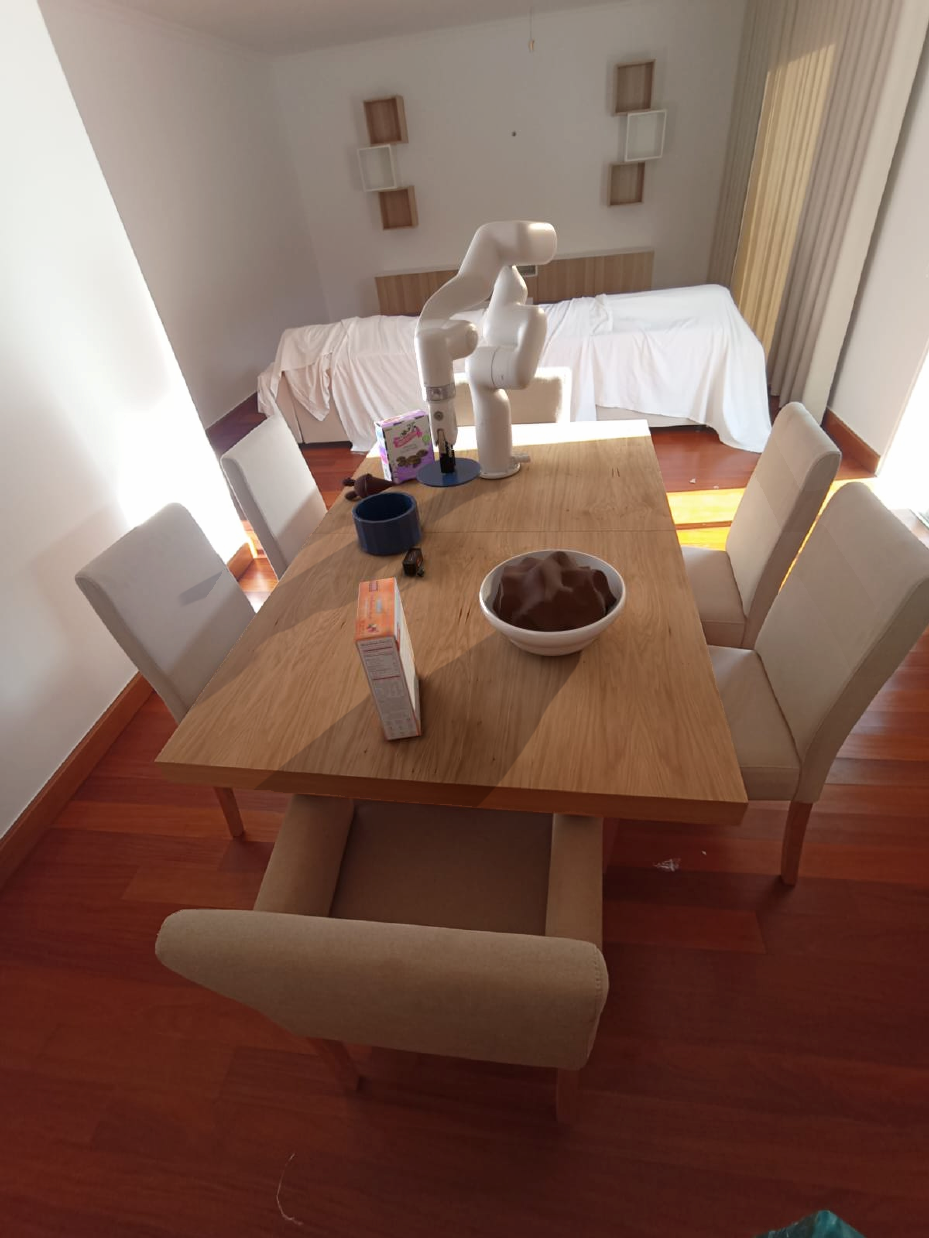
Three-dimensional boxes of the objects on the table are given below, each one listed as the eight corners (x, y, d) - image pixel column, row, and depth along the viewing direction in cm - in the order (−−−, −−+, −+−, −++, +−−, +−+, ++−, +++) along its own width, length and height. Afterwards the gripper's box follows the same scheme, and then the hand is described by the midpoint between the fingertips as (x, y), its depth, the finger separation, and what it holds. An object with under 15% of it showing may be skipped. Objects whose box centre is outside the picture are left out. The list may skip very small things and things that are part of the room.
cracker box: (384, 680, 103) (358, 580, 90) (419, 675, 103) (397, 574, 90) (383, 742, 92) (352, 639, 79) (421, 737, 92) (397, 633, 79)
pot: (425, 521, 146) (419, 489, 140) (417, 553, 134) (411, 520, 129) (366, 525, 148) (359, 493, 142) (354, 557, 136) (345, 524, 131)
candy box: (392, 486, 163) (381, 427, 153) (384, 479, 167) (372, 421, 157) (437, 471, 168) (428, 413, 157) (428, 465, 172) (419, 407, 162)
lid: (483, 459, 149) (481, 433, 145) (480, 487, 137) (477, 460, 133) (421, 464, 151) (417, 438, 147) (413, 492, 139) (408, 465, 134)
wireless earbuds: (402, 578, 127) (400, 565, 125) (412, 560, 133) (409, 547, 131) (423, 579, 126) (421, 566, 124) (432, 560, 131) (430, 548, 129)
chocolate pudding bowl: (495, 587, 121) (489, 522, 111) (623, 591, 115) (628, 522, 106) (471, 673, 102) (461, 603, 93) (623, 683, 96) (628, 609, 87)
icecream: (397, 467, 157) (345, 473, 161) (389, 472, 151) (334, 479, 154) (402, 493, 160) (351, 499, 164) (394, 499, 153) (340, 505, 157)
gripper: (452, 401, 125) (461, 483, 136) (458, 378, 137) (466, 454, 149) (416, 404, 126) (429, 485, 137) (426, 381, 138) (436, 456, 150)
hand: (448, 468), depth 143 cm, fingers closed on lid, 2 cm apart
